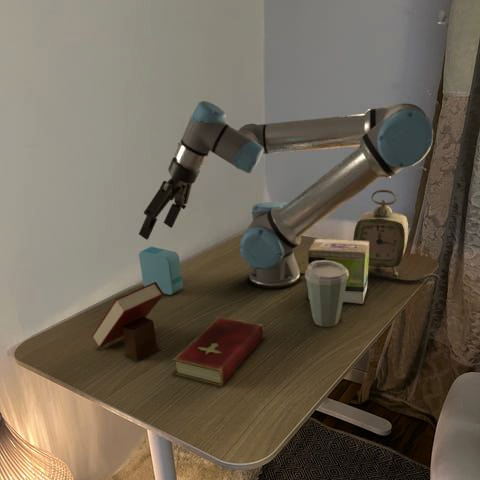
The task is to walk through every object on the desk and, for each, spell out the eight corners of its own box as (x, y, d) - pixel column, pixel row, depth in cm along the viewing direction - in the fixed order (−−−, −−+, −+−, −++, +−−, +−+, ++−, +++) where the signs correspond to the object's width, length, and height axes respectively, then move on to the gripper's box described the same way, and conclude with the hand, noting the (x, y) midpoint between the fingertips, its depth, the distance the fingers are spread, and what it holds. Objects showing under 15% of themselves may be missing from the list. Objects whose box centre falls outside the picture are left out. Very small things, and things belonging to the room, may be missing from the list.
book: (164, 294, 117) (155, 281, 117) (124, 312, 110) (115, 298, 110) (135, 330, 132) (128, 318, 133) (99, 347, 125) (91, 336, 126)
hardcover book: (263, 339, 125) (263, 324, 123) (222, 386, 109) (221, 369, 107) (220, 330, 130) (219, 315, 128) (175, 374, 114) (172, 358, 112)
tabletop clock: (351, 275, 156) (355, 192, 144) (357, 263, 163) (362, 184, 151) (401, 280, 150) (409, 195, 139) (405, 268, 158) (413, 186, 146)
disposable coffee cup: (352, 315, 133) (355, 261, 126) (339, 335, 125) (341, 278, 118) (313, 308, 138) (314, 256, 131) (298, 327, 130) (298, 271, 122)
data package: (183, 290, 153) (179, 252, 147) (173, 296, 150) (168, 257, 144) (153, 282, 159) (148, 245, 153) (143, 288, 156) (137, 250, 150)
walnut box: (157, 350, 124) (153, 320, 120) (137, 360, 120) (132, 331, 116) (147, 344, 126) (142, 315, 122) (127, 355, 122) (121, 325, 118)
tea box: (367, 289, 146) (370, 239, 139) (362, 305, 138) (366, 253, 131) (314, 285, 151) (315, 236, 144) (307, 299, 143) (307, 249, 136)
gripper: (196, 150, 143) (166, 213, 154) (150, 160, 122) (120, 233, 133) (218, 165, 142) (187, 227, 153) (176, 178, 121) (143, 250, 132)
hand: (156, 230), depth 143 cm, fingers open, 13 cm apart
